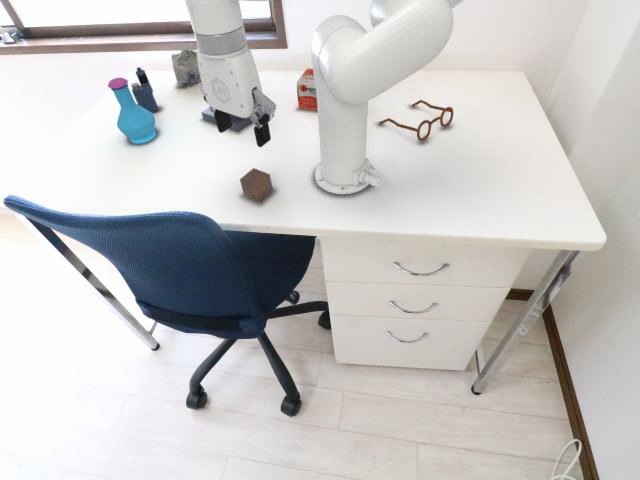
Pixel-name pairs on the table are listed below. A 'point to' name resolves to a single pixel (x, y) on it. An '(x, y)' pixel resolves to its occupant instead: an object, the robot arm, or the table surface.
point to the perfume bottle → (132, 114)
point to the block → (256, 185)
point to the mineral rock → (186, 67)
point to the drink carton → (307, 91)
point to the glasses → (448, 109)
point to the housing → (237, 121)
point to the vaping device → (144, 92)
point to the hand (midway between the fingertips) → (244, 136)
